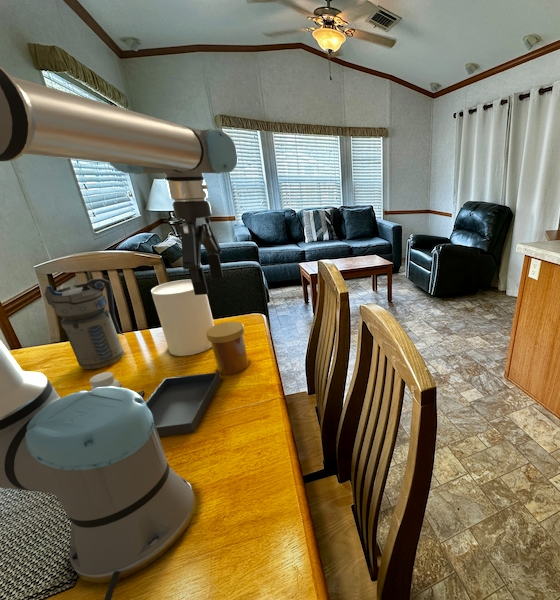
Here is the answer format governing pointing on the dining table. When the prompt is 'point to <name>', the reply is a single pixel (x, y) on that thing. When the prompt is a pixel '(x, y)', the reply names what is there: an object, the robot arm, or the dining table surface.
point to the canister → (183, 317)
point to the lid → (225, 332)
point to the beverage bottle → (88, 322)
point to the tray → (181, 402)
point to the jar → (230, 356)
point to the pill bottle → (104, 381)
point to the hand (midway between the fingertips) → (210, 285)
